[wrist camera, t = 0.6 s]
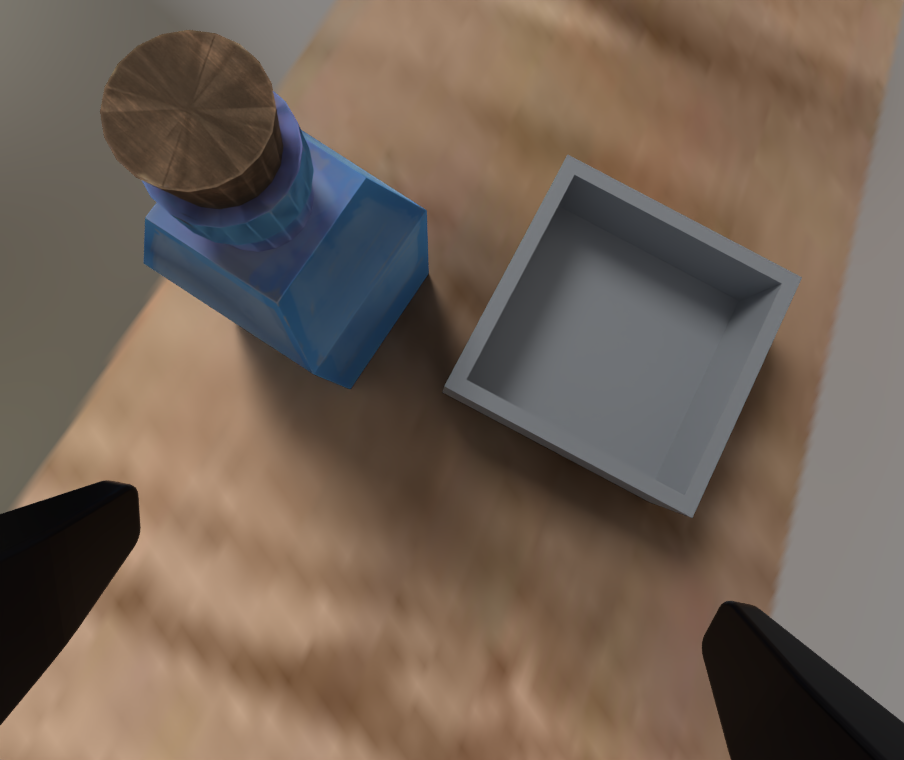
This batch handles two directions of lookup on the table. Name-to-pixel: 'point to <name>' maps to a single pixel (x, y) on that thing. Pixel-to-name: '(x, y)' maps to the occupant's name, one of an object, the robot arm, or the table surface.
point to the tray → (624, 337)
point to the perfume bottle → (261, 205)
